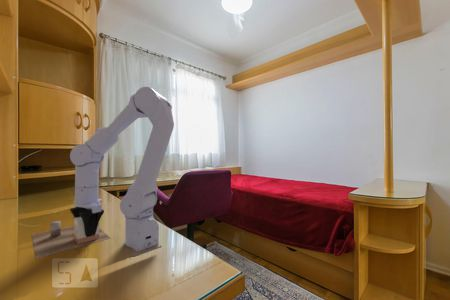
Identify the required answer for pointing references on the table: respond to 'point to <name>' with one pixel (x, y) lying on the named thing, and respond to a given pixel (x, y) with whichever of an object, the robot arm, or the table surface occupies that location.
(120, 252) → the table surface
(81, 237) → the sleeve
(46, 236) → the pin board
